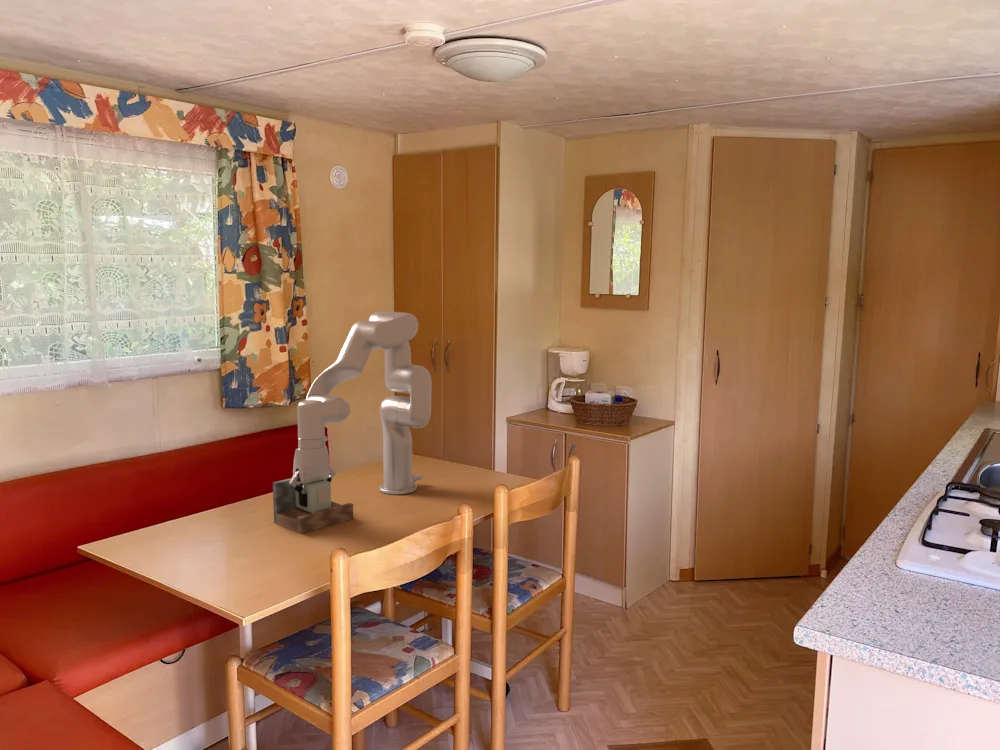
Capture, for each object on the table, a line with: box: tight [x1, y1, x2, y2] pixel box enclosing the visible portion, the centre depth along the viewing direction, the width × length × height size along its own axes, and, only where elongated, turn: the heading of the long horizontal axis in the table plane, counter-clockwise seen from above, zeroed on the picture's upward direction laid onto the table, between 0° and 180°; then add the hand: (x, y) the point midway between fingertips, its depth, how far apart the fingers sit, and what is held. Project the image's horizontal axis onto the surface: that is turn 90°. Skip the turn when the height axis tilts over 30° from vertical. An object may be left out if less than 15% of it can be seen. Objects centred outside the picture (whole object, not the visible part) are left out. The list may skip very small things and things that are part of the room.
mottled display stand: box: [272, 477, 354, 535], centre depth 226 cm, size 18×14×12 cm
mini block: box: [295, 480, 332, 513], centre depth 226 cm, size 6×9×8 cm, turn 48°
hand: (313, 502), depth 227 cm, fingers closed on mini block, 5 cm apart
